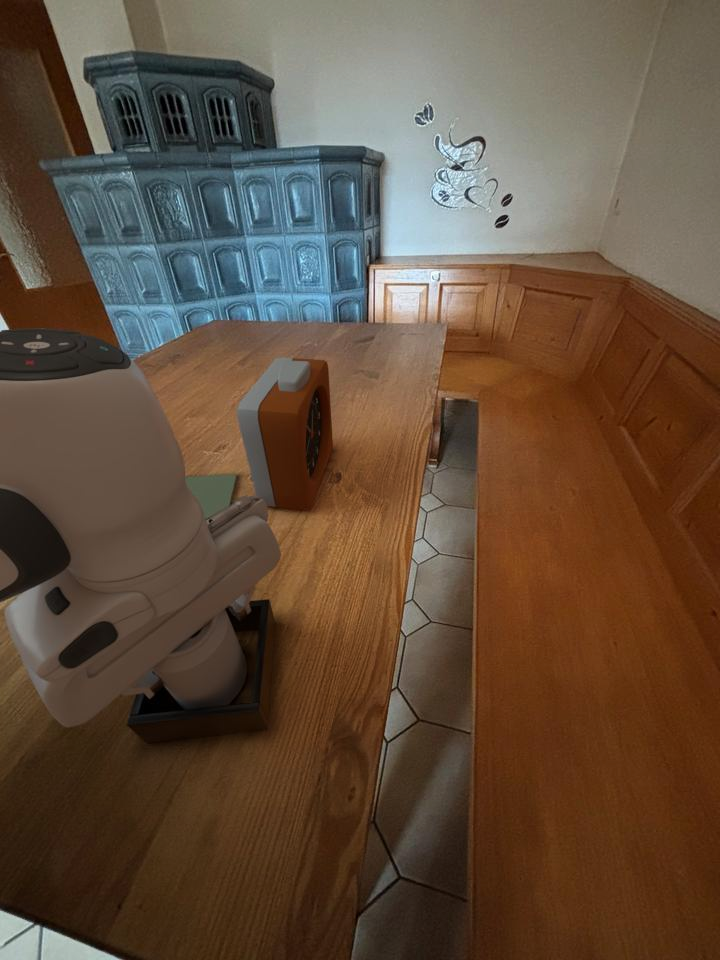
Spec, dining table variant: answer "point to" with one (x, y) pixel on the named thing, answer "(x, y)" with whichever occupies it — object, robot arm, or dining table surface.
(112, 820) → the dining table surface
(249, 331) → the dining table surface
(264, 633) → the frame
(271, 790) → the dining table surface
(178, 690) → the can
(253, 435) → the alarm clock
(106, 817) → the dining table surface
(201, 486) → the mat
